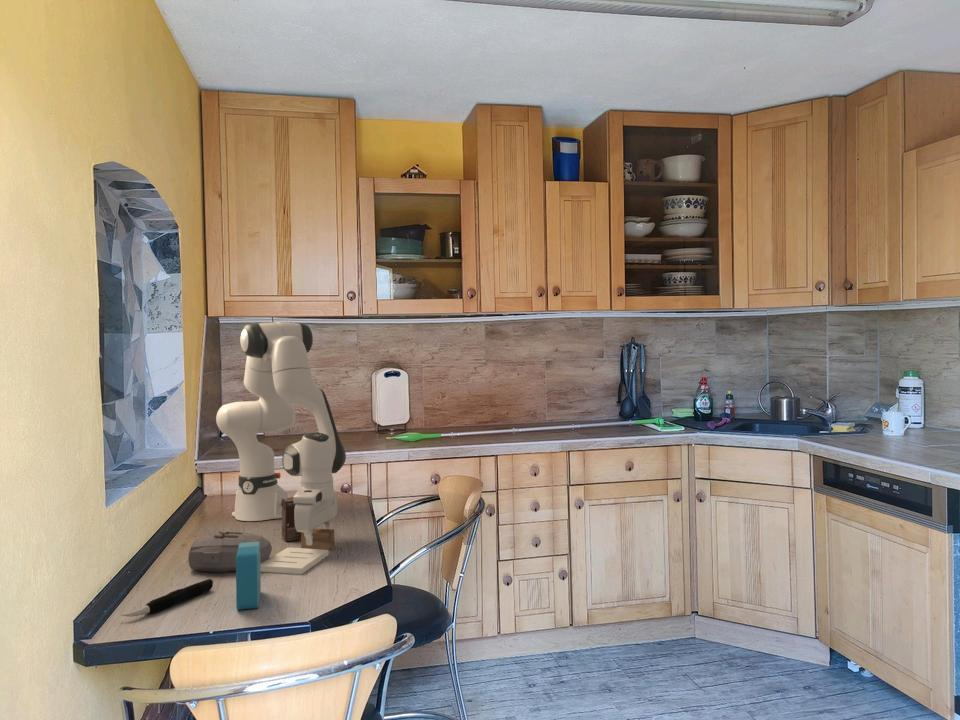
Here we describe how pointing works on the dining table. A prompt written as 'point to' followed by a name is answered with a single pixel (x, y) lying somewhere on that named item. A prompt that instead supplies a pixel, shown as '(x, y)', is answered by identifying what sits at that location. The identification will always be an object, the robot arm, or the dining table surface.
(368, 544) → the dining table surface
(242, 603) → the teal arch block
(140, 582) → the dining table surface
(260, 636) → the dining table surface
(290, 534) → the box
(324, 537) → the block
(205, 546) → the grey rounded bag
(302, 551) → the board
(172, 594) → the utility knife
